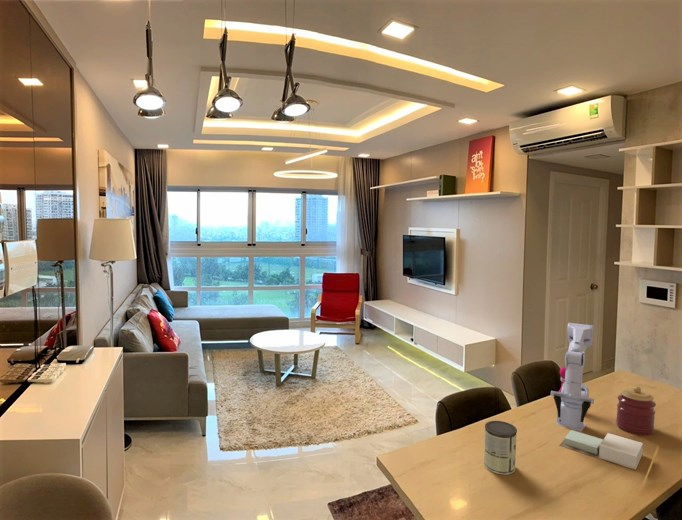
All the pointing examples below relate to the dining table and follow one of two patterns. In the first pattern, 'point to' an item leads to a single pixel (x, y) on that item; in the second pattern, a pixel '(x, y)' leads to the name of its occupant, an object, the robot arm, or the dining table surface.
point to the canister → (636, 411)
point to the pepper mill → (562, 376)
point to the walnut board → (588, 453)
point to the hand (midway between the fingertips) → (570, 419)
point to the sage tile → (583, 441)
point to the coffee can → (500, 447)
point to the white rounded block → (621, 450)
